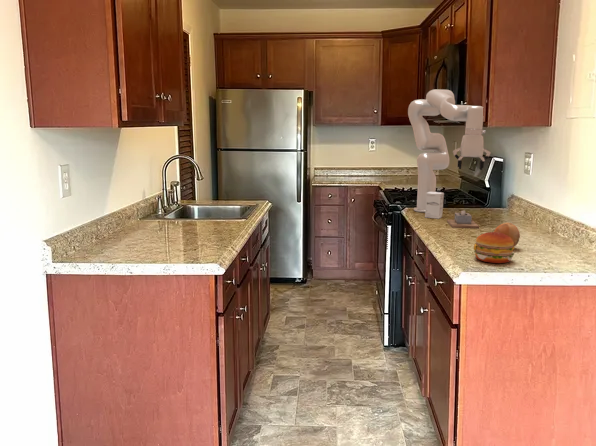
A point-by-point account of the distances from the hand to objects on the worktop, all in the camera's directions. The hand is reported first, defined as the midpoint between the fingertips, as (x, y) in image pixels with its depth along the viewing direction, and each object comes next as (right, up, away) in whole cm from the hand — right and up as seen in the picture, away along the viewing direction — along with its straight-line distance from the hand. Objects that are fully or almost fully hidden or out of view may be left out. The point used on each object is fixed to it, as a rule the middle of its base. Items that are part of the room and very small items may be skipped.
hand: (470, 169), depth 262 cm
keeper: (-5, -27, -4) cm, 27 cm away
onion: (-3, -36, -51) cm, 63 cm away
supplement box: (-13, -23, +16) cm, 31 cm away
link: (-5, -26, -4) cm, 26 cm away
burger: (-14, -39, -70) cm, 81 cm away
